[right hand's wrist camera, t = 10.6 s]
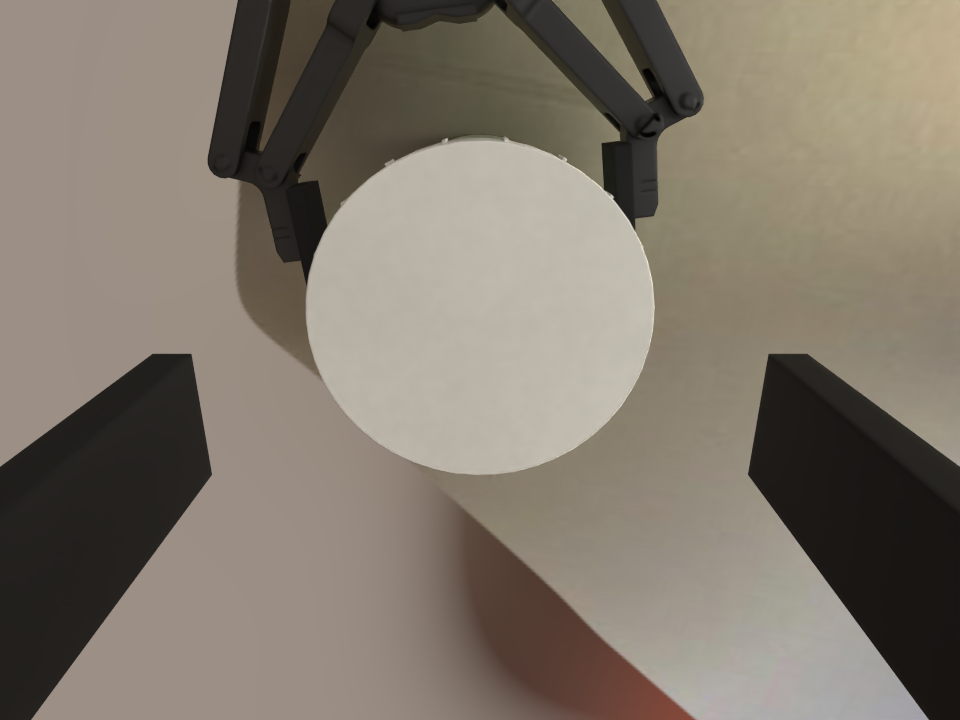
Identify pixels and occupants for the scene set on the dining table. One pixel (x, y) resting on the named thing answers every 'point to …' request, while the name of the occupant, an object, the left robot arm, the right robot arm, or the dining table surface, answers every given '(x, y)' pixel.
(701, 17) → the dining table surface
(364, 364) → the lid
